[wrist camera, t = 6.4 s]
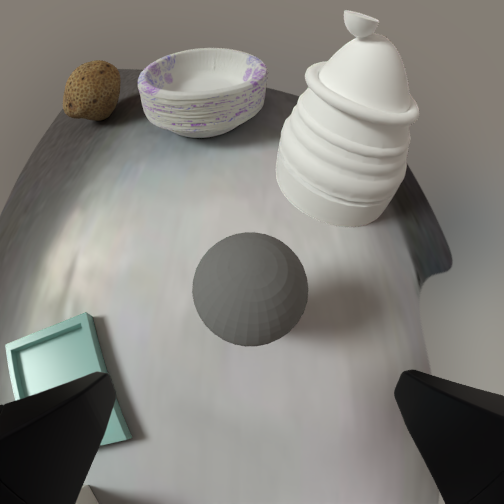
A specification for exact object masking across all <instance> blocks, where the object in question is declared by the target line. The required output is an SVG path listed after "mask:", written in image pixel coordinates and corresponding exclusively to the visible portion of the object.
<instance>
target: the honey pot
mask: <svg viewBox="0 0 504 504" xmlns="http://www.w3.org/2000/svg"><path fill="white" fill-rule="evenodd" d="M344 22H345V25H346V28H347V29H348V31H349V32H350V33H351V34H352V35H354V36H356V37H357V38H355V39H353V40H351V41H350V42H348V43H347V44H345V45H344V46H343V47H342V48H341V49H339V50H338V51H337V52H336V53H335V54H334V55H333V56H332V57H331V58H330V59H329V61H324V62H320V63H316V64H314V65H312V66H310V67H309V68H308V69H307V71H306V74H305V79H306V82H307V85H308V88H307V90H306V91H305V92H304V93H303V94H301V95H300V97H299V99H298V102H297V105H296V106H295V107H294V108H293V111H292V114H291V115H290V116H289V117H288V118H287V119H286V120H285V123H284V125H283V128H282V131H281V138H280V144H279V148H278V155H277V162H276V180H277V182H278V184H279V187H280V189H281V191H282V193H283V194H284V195H285V196H286V198H287V199H288V200H289V201H290V203H291V204H293V205H294V206H295V207H296V208H298V209H299V210H300V211H301V212H303V213H304V214H306V215H308V216H310V217H312V218H314V219H316V220H318V221H320V222H323V223H327V224H330V225H334V226H339V227H357V226H362V225H367V224H369V223H371V222H372V221H374V220H376V219H378V218H379V216H380V215H381V214H382V213H383V211H384V210H385V209H386V207H387V206H388V204H389V202H390V201H391V199H392V198H393V196H394V194H395V193H396V191H397V189H398V188H399V186H400V184H401V182H402V181H403V180H404V177H405V173H406V168H407V163H406V160H407V155H408V148H409V145H410V139H411V137H410V133H409V127H410V125H412V124H413V123H414V122H415V121H417V119H418V117H419V108H418V105H417V103H416V101H415V100H414V99H413V97H412V96H411V95H410V94H409V85H408V79H407V74H406V70H405V66H404V63H403V61H402V58H401V56H400V54H399V52H398V50H397V49H396V47H395V46H394V45H393V43H392V42H391V41H390V40H388V39H387V37H386V36H384V35H380V34H377V33H373V32H374V31H375V30H376V28H377V26H378V24H379V21H378V20H377V19H375V18H372V17H370V16H367V15H364V14H361V13H358V12H353V11H348V10H345V11H344Z"/></svg>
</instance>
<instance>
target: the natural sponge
mask: <svg viewBox="0 0 504 504" xmlns="http://www.w3.org/2000/svg"><path fill="white" fill-rule="evenodd" d="M119 94H120V74H119V71H118V70H117V68H116V67H115V66H113V65H112V64H110V63H108V62H105V61H100V60H99V61H98V60H97V61H91V62H88V63H84V64H82V65H81V66H79V67H78V68H77V69H75V70H74V71H73V73H72V74H71V75H70V77H69V78H68V81H67V83H66V86H65V92H64V97H63V109H64V111H65V113H66V114H67V115H68V116H69V117H72V118H85V119H89V120H95V121H100V120H104V119H106V118H108V117H109V116H110V115H111V113H112V112H113V110H114V109H115V107H116V105H117V102H118V98H119Z"/></svg>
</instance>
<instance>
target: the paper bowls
mask: <svg viewBox="0 0 504 504" xmlns="http://www.w3.org/2000/svg"><path fill="white" fill-rule="evenodd" d="M267 75H268V70H267V67H266V65H265V64H264V63H263V62H262V61H261V60H260V59H258V58H257V57H255V56H253V55H251V54H248V53H245V52H241V51H238V50H232V49H223V48H201V49H192V50H187V51H182V52H177V53H174V54H171V55H168V56H165V57H163V58H161V59H158V60H157V61H155V62H153V63H151V64H150V65H148V66H147V67H146V68H145V69H144V70H143V71H142V72H141V74H140V76H139V79H138V89H139V92H140V96H141V102H142V106H143V110H144V113H145V115H146V117H147V119H148V120H149V121H150V122H151V123H152V124H154V125H156V126H158V127H160V128H162V129H165V130H170V131H172V132H174V133H176V134H178V135H181V136H185V137H191V138H206V137H212V136H217V135H221V134H224V133H226V132H228V131H230V130H232V129H234V128H235V127H237V126H238V125H240V124H242V123H244V122H246V121H247V120H249V119H250V118H252V117H254V116H255V115H256V114H257V113H258V112H259V111H260V110H261V108H262V106H263V104H264V99H265V94H266V85H267Z"/></svg>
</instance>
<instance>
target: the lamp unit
mask: <svg viewBox="0 0 504 504" xmlns="http://www.w3.org/2000/svg"><path fill="white" fill-rule="evenodd" d="M76 504H99V503H98V501H97V500H96V498H95V496H94V494H93V492H92V491H91V489H90V487H89V485H83V486H82V488H81V491H80V493H79V496H78V498H77V501H76Z"/></svg>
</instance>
